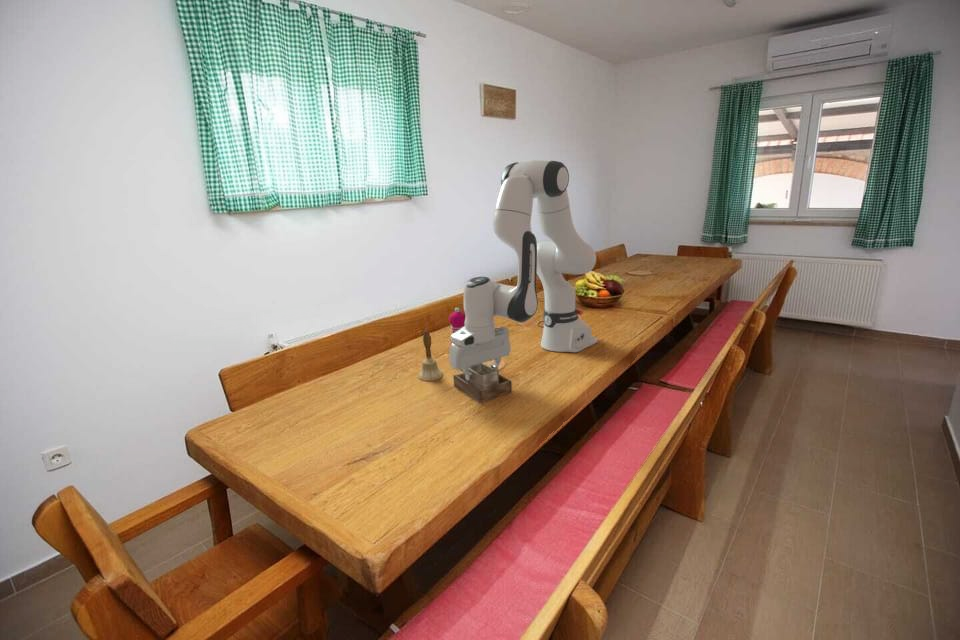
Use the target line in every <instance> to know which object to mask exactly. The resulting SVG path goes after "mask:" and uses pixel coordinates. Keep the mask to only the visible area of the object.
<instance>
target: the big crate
mask: <svg viewBox="0 0 960 640" xmlns="http://www.w3.org/2000/svg"><path fill="white" fill-rule="evenodd" d="M498 375H499V384H497V385H494V386H491V387H488V388H484V389H481V390H479V389H478V388H476V387H474V386H473V385H471V384H470V383H468V382H466V378H465V373H464V372H463V371H462V372H460V373H456V374H453V386H454V387H455V388H457V389H458V390H459V391H461V392H462V393H464V394H466V395H467V396H469V398H472V399H473V400H474V401H475V402H478V403H479V404H481V403H484V402H488V401H490V400H492V399H495V398H497V397H501V396H504V395H507V394H509V393H512V392H513V391H512V390H513V389H512V388H513V387H512V384H513V383H512V380H510V379H508V378H506V377H504V376H503V375H501V374H499V373H498Z"/></svg>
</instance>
